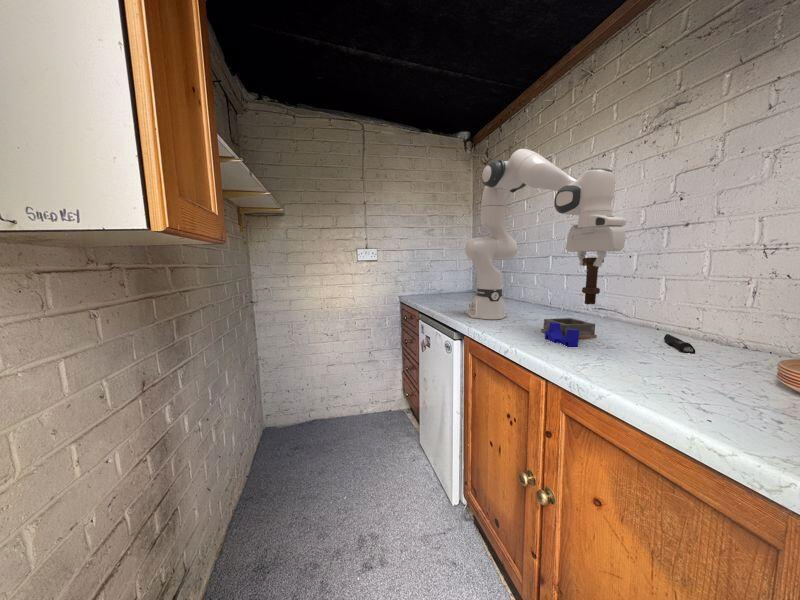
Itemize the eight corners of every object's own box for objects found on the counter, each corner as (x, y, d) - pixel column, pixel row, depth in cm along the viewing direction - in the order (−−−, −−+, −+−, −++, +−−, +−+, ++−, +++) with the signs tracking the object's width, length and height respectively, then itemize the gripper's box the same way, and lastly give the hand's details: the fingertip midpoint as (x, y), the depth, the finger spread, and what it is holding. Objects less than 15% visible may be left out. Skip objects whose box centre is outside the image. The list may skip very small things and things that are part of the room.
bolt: (602, 305, 96) (606, 257, 95) (584, 304, 97) (588, 257, 96) (594, 303, 102) (598, 258, 100) (578, 303, 103) (581, 258, 101)
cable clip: (544, 338, 111) (545, 322, 110) (556, 338, 111) (557, 322, 110) (564, 348, 99) (565, 330, 98) (577, 348, 99) (579, 330, 98)
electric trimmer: (673, 342, 106) (674, 333, 106) (696, 355, 92) (697, 344, 92) (660, 341, 108) (661, 333, 107) (680, 353, 93) (681, 343, 93)
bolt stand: (541, 331, 121) (542, 318, 120) (570, 330, 123) (571, 317, 122) (564, 340, 108) (565, 325, 107) (596, 338, 110) (597, 324, 110)
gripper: (562, 224, 106) (559, 265, 108) (612, 218, 86) (607, 267, 88) (578, 225, 107) (575, 264, 109) (631, 218, 87) (626, 267, 89)
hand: (590, 266), depth 99 cm, fingers closed on bolt, 4 cm apart
